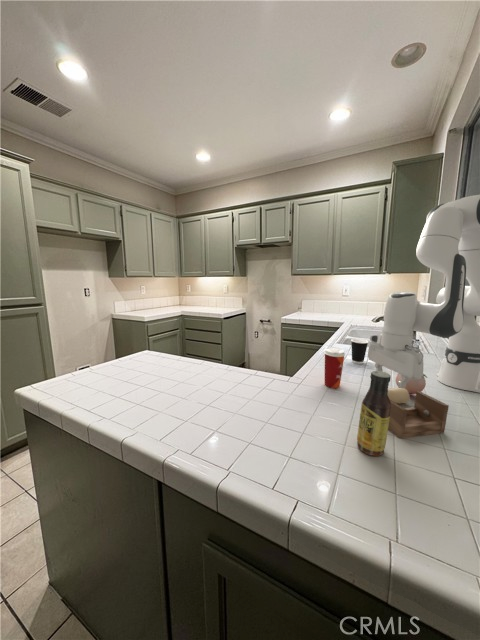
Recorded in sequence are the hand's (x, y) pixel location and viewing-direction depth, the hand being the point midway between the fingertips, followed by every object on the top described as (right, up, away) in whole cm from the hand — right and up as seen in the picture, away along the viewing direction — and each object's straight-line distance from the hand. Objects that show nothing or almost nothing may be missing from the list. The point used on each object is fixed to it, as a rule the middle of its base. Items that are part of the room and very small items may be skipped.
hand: (390, 381), depth 89 cm
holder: (-2, -10, -13) cm, 17 cm away
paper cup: (-15, -5, +14) cm, 21 cm away
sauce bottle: (-18, -11, -24) cm, 32 cm away
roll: (+1, -7, +1) cm, 7 cm away
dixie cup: (+8, 0, +42) cm, 43 cm away
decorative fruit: (+11, -7, +7) cm, 14 cm away
